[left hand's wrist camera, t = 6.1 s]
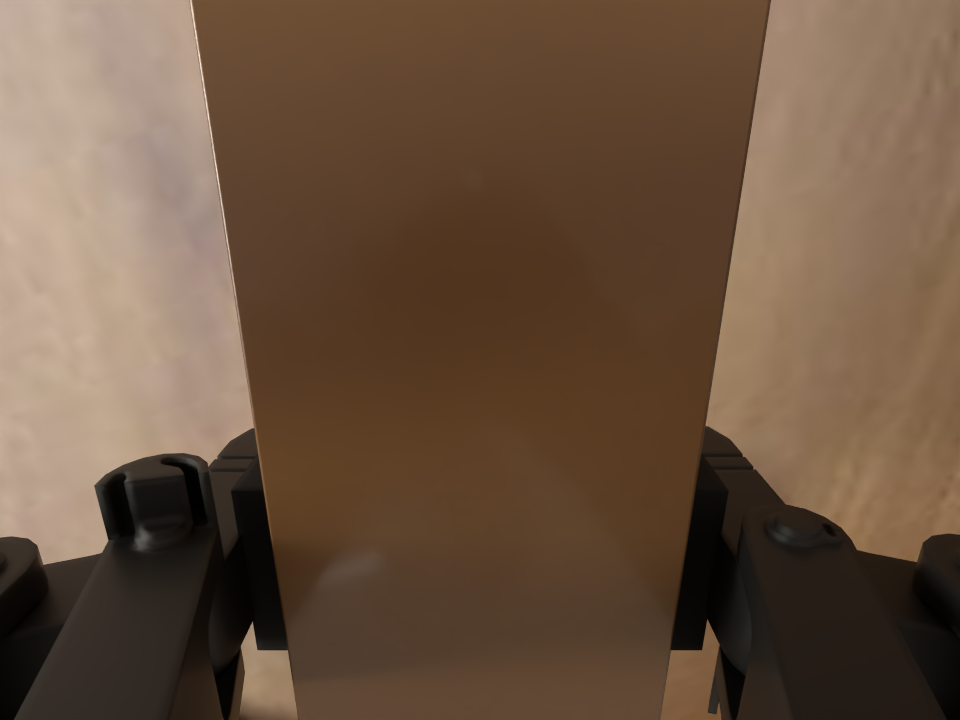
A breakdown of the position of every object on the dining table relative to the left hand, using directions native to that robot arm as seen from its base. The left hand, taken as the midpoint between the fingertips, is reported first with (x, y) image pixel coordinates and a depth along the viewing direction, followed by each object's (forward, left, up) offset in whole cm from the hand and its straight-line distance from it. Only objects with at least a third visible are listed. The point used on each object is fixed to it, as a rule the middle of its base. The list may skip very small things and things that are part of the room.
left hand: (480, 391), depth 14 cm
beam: (+20, +4, -1) cm, 21 cm away
